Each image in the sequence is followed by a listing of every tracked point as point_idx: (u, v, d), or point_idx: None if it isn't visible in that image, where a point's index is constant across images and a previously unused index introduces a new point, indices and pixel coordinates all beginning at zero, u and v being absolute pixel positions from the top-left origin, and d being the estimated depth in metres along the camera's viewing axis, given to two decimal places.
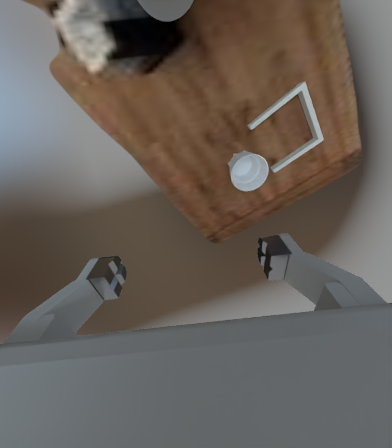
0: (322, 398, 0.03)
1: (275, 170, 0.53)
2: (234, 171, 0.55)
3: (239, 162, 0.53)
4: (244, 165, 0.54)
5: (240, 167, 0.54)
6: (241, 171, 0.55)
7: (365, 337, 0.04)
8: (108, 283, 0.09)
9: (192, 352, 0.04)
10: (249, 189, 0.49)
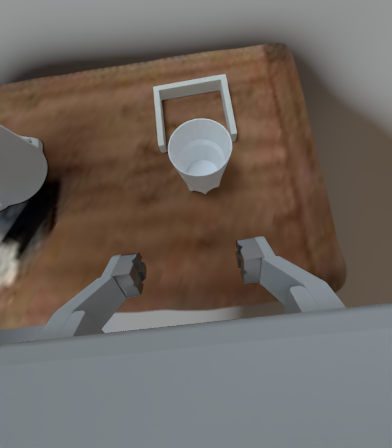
0: (322, 398, 0.03)
1: (233, 131, 0.35)
2: None
3: (197, 175, 0.36)
4: (205, 170, 0.36)
5: None
6: None
7: (365, 337, 0.04)
8: (132, 280, 0.08)
9: (192, 352, 0.04)
10: (228, 156, 0.26)
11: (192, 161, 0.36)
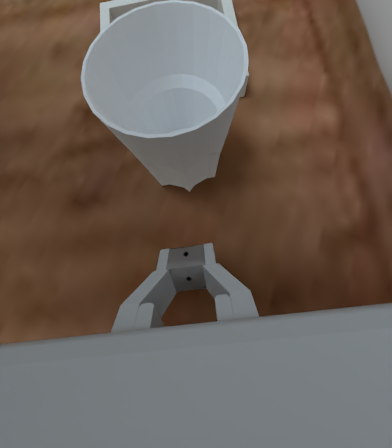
0: (322, 399, 0.03)
1: None
2: None
3: None
4: None
5: None
6: None
7: (365, 337, 0.04)
8: (187, 274, 0.08)
9: (192, 352, 0.04)
10: None
11: (166, 130, 0.19)
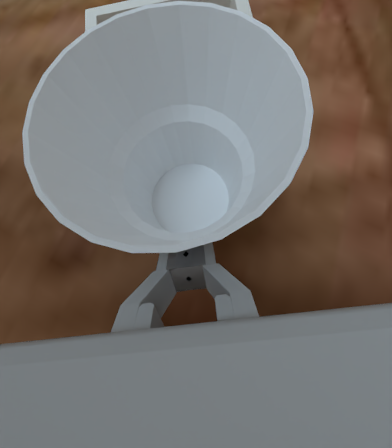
0: (322, 399, 0.03)
1: None
2: (199, 228, 0.14)
3: (179, 200, 0.15)
4: (198, 189, 0.15)
5: (197, 203, 0.15)
6: (213, 205, 0.15)
7: (365, 337, 0.04)
8: (187, 273, 0.08)
9: (192, 352, 0.04)
10: (293, 149, 0.06)
11: (166, 167, 0.15)
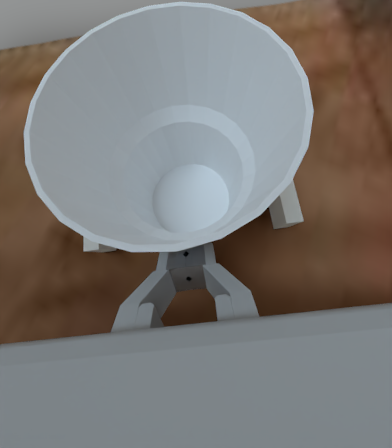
0: (322, 399, 0.03)
1: (293, 214, 0.12)
2: (199, 228, 0.14)
3: (179, 200, 0.15)
4: (198, 189, 0.15)
5: (197, 204, 0.15)
6: (213, 206, 0.15)
7: (365, 337, 0.04)
8: (186, 273, 0.08)
9: (192, 352, 0.04)
10: (293, 149, 0.06)
11: (167, 168, 0.15)
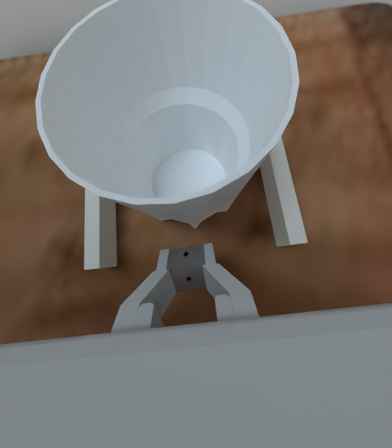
0: (323, 399, 0.03)
1: (297, 235, 0.12)
2: None
3: (179, 184, 0.16)
4: (197, 173, 0.16)
5: (196, 187, 0.15)
6: None
7: (365, 337, 0.04)
8: (187, 273, 0.08)
9: (192, 352, 0.04)
10: (281, 117, 0.06)
11: (167, 152, 0.16)
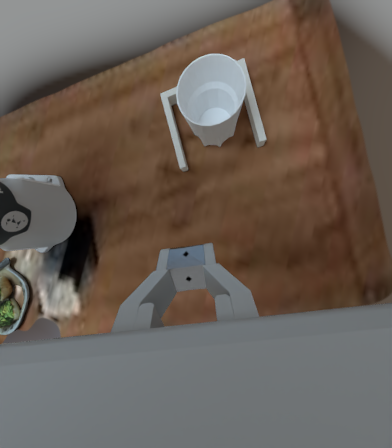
0: (322, 399, 0.03)
1: (262, 137, 0.30)
2: None
3: None
4: (217, 119, 0.33)
5: None
6: None
7: (365, 337, 0.04)
8: (187, 273, 0.08)
9: (192, 352, 0.04)
10: (243, 95, 0.24)
11: (202, 112, 0.33)
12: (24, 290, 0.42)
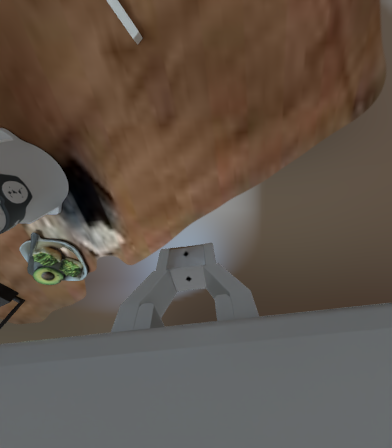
0: (322, 398, 0.03)
1: None
2: None
3: None
4: None
5: None
6: None
7: (365, 337, 0.04)
8: (187, 273, 0.08)
9: (192, 352, 0.04)
10: None
11: None
12: (70, 247, 0.48)
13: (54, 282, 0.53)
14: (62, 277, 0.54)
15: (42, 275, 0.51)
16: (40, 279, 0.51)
